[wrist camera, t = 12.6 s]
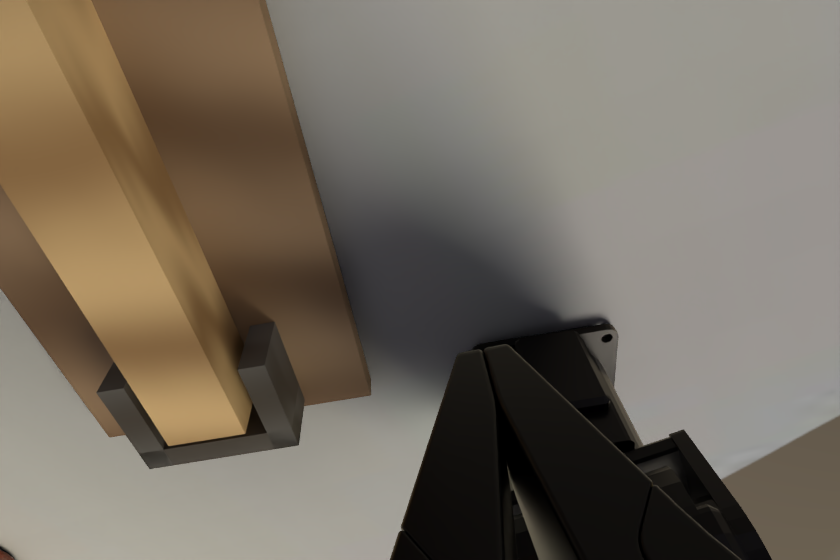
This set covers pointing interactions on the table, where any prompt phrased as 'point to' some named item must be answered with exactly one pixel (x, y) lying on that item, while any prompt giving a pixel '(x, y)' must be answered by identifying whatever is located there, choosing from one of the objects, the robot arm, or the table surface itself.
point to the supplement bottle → (5, 556)
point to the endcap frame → (214, 227)
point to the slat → (114, 219)
